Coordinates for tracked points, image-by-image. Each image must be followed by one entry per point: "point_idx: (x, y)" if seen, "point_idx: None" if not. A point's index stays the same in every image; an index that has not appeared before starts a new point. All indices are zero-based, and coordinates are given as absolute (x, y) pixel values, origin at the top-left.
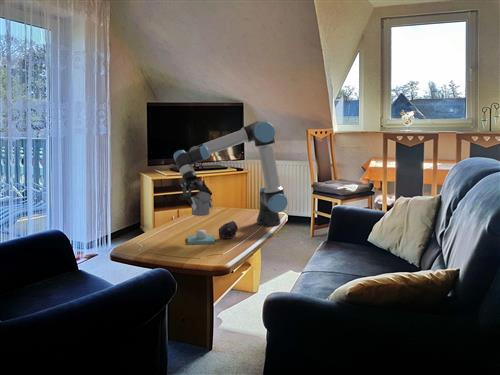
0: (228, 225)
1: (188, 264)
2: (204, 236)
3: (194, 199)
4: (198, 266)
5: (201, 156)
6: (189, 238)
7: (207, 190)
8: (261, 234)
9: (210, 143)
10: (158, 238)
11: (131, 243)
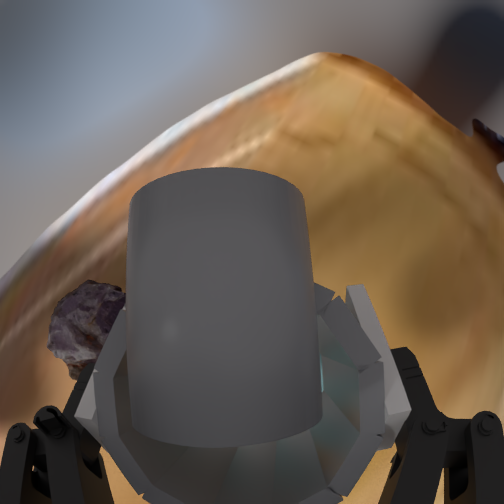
0: (94, 317)
1: (420, 107)
2: None
3: (374, 352)
4: (397, 82)
5: None
6: (322, 383)
7: (26, 502)
8: (11, 293)
9: None
10: None
11: None
